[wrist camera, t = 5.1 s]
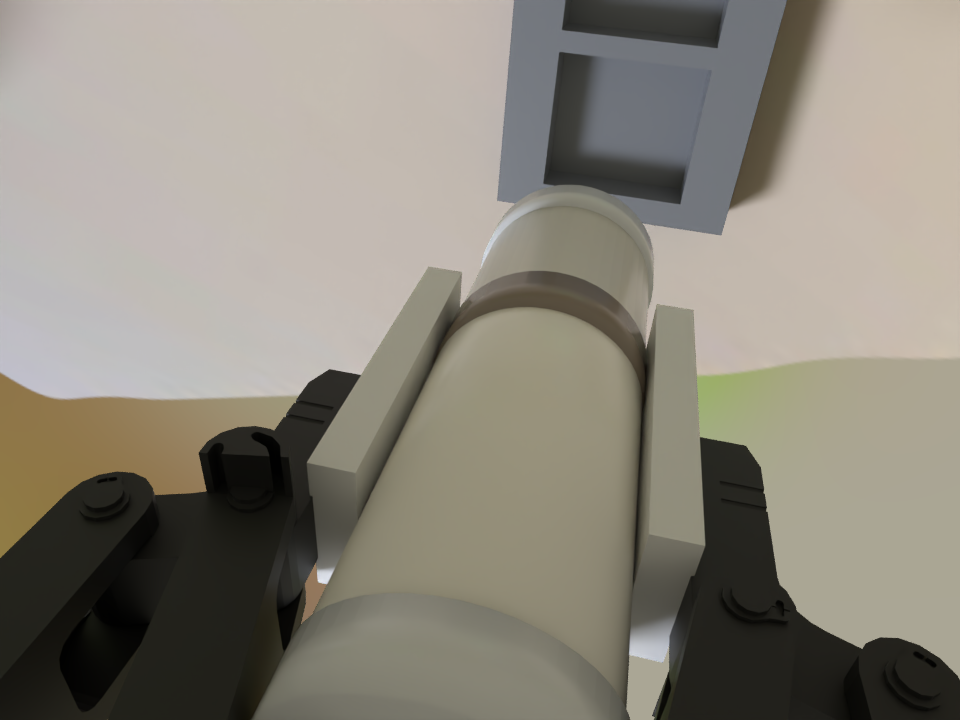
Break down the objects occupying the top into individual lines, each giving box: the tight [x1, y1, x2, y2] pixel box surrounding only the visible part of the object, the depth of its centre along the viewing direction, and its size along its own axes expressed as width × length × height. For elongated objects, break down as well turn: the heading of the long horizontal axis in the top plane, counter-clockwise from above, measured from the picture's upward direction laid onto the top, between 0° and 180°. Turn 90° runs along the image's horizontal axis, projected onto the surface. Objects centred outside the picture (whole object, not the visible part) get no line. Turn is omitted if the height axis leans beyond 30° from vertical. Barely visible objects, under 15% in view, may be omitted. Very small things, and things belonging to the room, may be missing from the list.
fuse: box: [251, 185, 654, 720], centre depth 14 cm, size 4×4×14 cm
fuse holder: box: [497, 0, 787, 235], centre depth 29 cm, size 10×14×2 cm
